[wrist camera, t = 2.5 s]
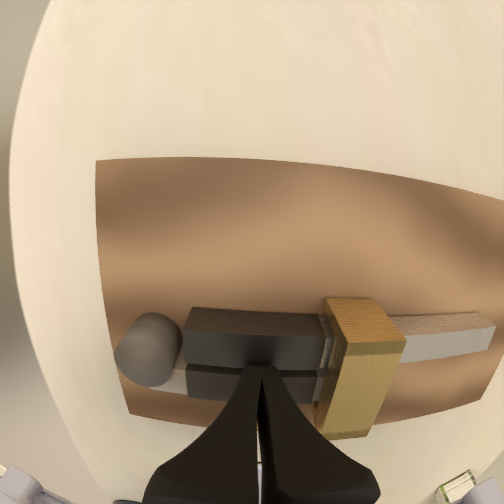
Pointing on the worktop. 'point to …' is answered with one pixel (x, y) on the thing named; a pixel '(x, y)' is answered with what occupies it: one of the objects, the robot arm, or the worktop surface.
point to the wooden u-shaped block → (356, 367)
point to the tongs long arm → (317, 338)
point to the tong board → (288, 270)
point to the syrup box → (455, 488)
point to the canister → (125, 502)
